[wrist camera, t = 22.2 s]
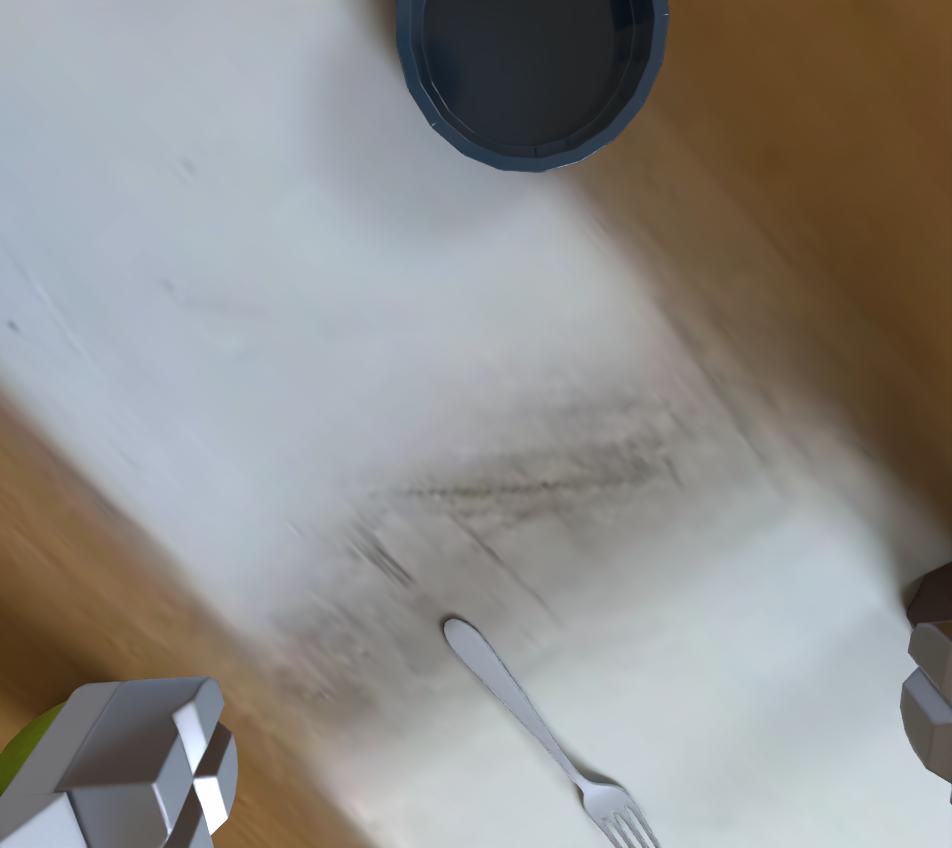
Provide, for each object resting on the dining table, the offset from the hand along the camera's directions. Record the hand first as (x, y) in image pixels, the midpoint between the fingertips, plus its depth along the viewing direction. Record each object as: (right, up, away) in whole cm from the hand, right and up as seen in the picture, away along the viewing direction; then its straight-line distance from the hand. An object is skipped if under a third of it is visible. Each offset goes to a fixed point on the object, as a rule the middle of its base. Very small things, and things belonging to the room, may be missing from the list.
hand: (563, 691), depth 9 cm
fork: (+4, -18, +41) cm, 45 cm away
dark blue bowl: (+1, +21, +25) cm, 33 cm away
